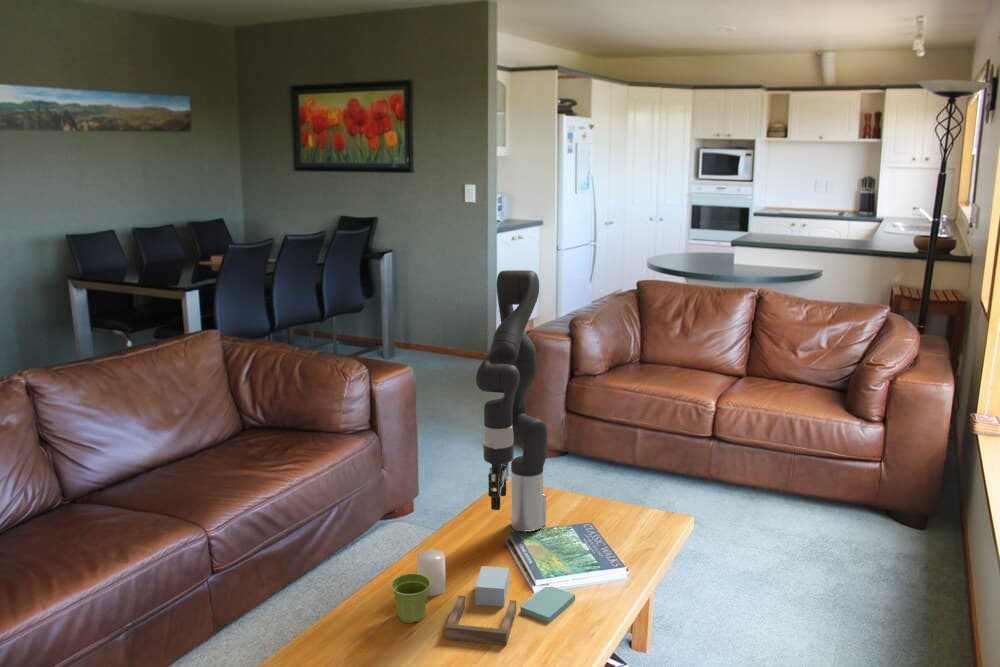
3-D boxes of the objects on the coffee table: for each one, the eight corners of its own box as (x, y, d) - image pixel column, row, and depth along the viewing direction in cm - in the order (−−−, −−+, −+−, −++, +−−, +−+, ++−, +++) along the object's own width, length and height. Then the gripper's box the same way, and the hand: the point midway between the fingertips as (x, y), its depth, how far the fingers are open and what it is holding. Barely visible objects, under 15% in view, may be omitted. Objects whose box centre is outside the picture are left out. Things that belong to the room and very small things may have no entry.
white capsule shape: (436, 578, 213) (435, 546, 211) (451, 590, 207) (450, 557, 205) (412, 587, 209) (411, 554, 207) (426, 599, 203) (425, 566, 201)
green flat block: (547, 592, 207) (547, 584, 207) (575, 602, 203) (575, 594, 202) (520, 614, 198) (520, 606, 197) (549, 625, 193) (549, 617, 193)
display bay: (458, 606, 200) (458, 595, 199) (516, 612, 198) (516, 600, 197) (445, 639, 187) (445, 627, 186) (506, 645, 185) (506, 633, 184)
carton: (481, 583, 211) (481, 566, 209) (509, 585, 210) (509, 567, 208) (475, 605, 201) (475, 586, 200) (504, 607, 200) (504, 588, 199)
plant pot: (438, 609, 199) (437, 576, 197) (421, 631, 190) (420, 597, 188) (402, 602, 202) (401, 570, 200) (385, 623, 193) (383, 590, 191)
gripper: (489, 430, 214) (490, 489, 218) (477, 451, 200) (478, 513, 204) (518, 432, 213) (518, 491, 216) (508, 453, 199) (508, 516, 203)
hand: (498, 502), depth 210 cm, fingers open, 7 cm apart
